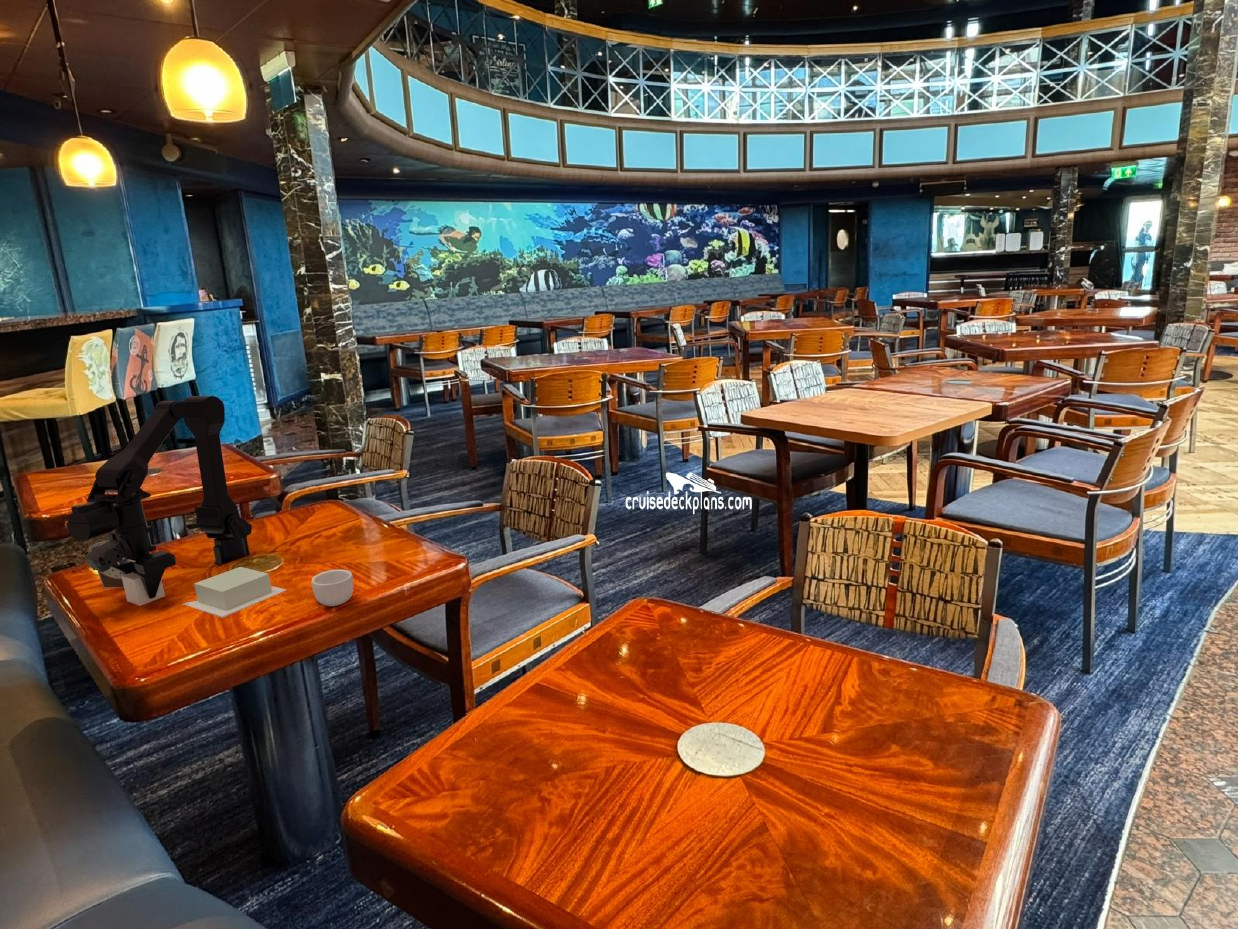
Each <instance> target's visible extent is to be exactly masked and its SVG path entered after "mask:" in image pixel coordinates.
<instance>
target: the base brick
mask: <svg viewBox="0 0 1238 929" xmlns="http://www.w3.org/2000/svg"><path fill="white" fill-rule="evenodd" d="M270 578H271V577H270V574H269V573H266V572H263V571H259V570H255V569H251V568H246V567H243V566H239V567H235V568H233V569H230V570H228V571H225V572H221V573H220V574H219V573H218V574H217V575H214V576H212V577H208V578H205V579H203V580H200V581H198V582H195V583H193V585H194V589H195V590H194V591H195V595H196V601H198V602H200V603H203V604H206V605H210V606H213V607H216V608H219V609H223V610H226V611H227V610H229V609H231V608H234V607H236V606H239V605H241V604H244V603H246V602H248V601H251V600H253V599H256V598H258V597H261V596H263V595H265V594H268V593H270V592H272V589H271V587H272V583H271V579H270Z"/></svg>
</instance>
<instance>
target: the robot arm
mask: <svg viewBox="0 0 1238 929" xmlns="http://www.w3.org/2000/svg"><path fill="white" fill-rule="evenodd" d="M225 412H226V411H225V404H224V401H223V400H221V399H220V398H219V397H217V396H215V395H196V396H195V395H190V396H187V397H186V398H185V399H184V400H181V401H178V400H162V401H159V402H157V403H156V404H155V406H154V410H153V412H151V414H150V415H149V417H148V418H147V419H146V421H145V422H144V423H143V425H142V426H141V427H140V429H139V430H138V431H136V434H134V436H133V438H132V439H131V440H130V441H129V443H128V444H127V445H126V447H125V448H124V449H123V450H121V452H119V453H117V454H115V455H114V456H112V457H110V458H108V460H106V461H105V462H104V463H103V464H102V465H101V466H100V467H99V468H98V469H97V470H96V472H95V476H94V478H95V480H94V483H93V484H92V486H91V490H90V492H89V494H88V496H87V498H86V499H87V500H86V503H83V504H77V505H76V504H75V505H74V506H71V507H70V509H71V513H70V514H69V516H68V518H67V523H66V529H67V531H68V533H69V534H70V536H71V537H72V538H74V539H75V540H76V541H79V542H86V541H88V540H92V539H93V538H96V537H99V536H103V535H106V534H108V533H109V534H108V540H110V541H108V542H106V543H104V544H102V545H100V546H99V547H97V548H96V549H94V550H93V551H91V552H90V553H89V552H88V553H87V554H85V555H84V556H83V558H84V560H85V561H86V563H87V564H88V565H89V566H90V568H91V569H92V570H93V571H97V572H98V571H99V572H105V571H107V570H108V569H110V567H112V568H115V569H117V570H119V571H121V572H122V573H123V575H126V574H129V573H133V574H135V575H137V576H139V577H141V580H142V582H143V585H144V588H145V590H146V593H147V595H148V597H149V598H150V599H152V598H155V597H156V594H157V591H158V588H159V585H160V581H161V580H162V578H163V576H164V573H165V571H166V569H168V568H172V567H175V566H176V565H177V564H178V563H177V559H176V555H175V554H173V553H171V552H168V551H166V550H157V545H156V544H152V543H151V538H150V534H149V533H151V532H153V527H152V525H148V524H147V520H146V516H145V511H144V507H143V501H142V500H144V499H148V498H150V497H152V494H151V493H150V492H148V491H145V490H143V489H142V488H141V487H142V485H143V484H144V482H145V480H146V477H147V476H148V474H149V463H150V461H151V459H152V458H153V457H154V455H155V454H156V452H157V451H158V450H159V449H160V447H161V446H162V445H163V443H164V441H165V440H166V439H167V437H168V436H169V435H170V433H171V432H172V431H173V429H174V428H175V426H176V425H177V423H178V422H179V421H180V420H181V419H183V422H184V424H185V426H186V427H187V429H189V431H190V433H191V434H192V435H193V436H194V440H195V448H196V455H197V460H198V466H199V467H198V468H199V474H200V479H201V480H200V481H201V486H202V493H203V499H202V501H201V504H200V506H199V505H198V506H195V507H194V512H195V514H196V515H195V516H196V522H195V524H196V525H198V526H199V529H200V530H201V531H202V532H204V534H205V536H206V537H207V539H213V546H212V548H213V554H214V559H215V560H213V562H214V564H215V565H216V564H217V565H221V566H223V565H225V564H228V563H231V562H234V561H237V560H239V559H241V558H245V557H247V556H250V555H251V554H250V548H249V541H248V536H250V535H252V530H253V525H252V524H251V523H249V522H248V521H246V520H245V519H243V518H242V517H241V516H240V511H239V508H238V505H237V504H236V503H235V502H234V501H233V499H232V498H231V496H230V495H229V492H228V485H227V479H226V471H225V464H224V458H223V450H222V444H221V437H220V433H221V431H222V429H223V427H224V424H225V422H226V419H225V417H226V416H225V414H226V413H225Z"/></svg>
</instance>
